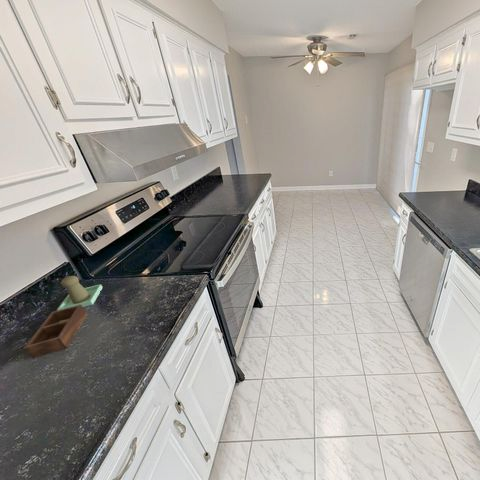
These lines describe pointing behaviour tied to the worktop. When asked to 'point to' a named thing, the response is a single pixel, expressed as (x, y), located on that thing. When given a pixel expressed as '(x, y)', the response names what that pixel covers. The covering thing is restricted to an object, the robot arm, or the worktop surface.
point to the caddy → (56, 331)
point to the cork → (75, 289)
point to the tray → (94, 294)
